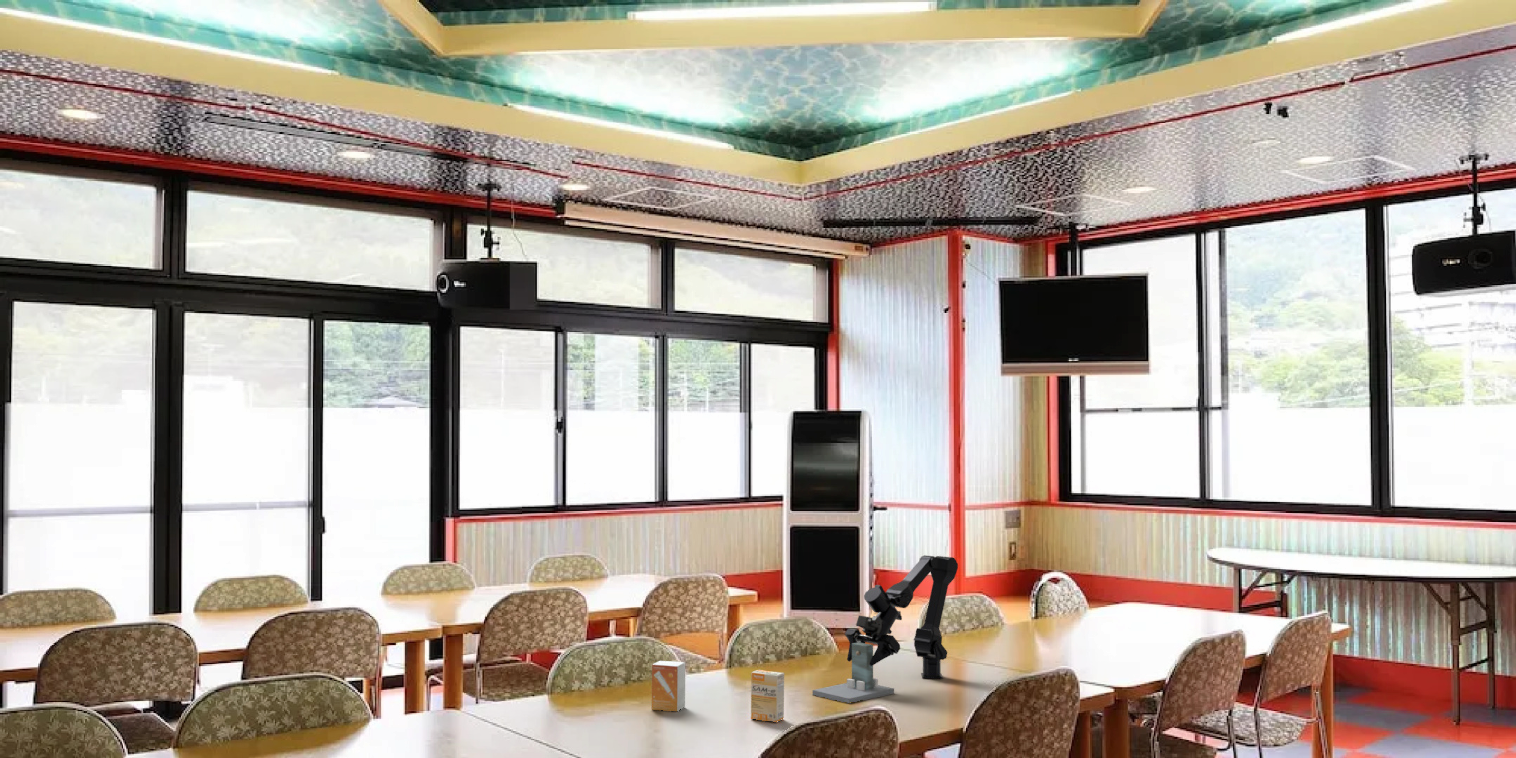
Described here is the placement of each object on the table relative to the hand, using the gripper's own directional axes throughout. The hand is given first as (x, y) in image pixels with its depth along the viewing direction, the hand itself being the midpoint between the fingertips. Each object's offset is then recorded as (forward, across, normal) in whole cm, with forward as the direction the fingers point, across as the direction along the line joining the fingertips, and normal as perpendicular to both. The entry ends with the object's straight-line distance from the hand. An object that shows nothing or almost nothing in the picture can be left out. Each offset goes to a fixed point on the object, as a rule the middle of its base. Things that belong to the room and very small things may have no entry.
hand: (859, 662), depth 354 cm
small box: (+46, -23, -33) cm, 61 cm away
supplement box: (+37, +6, -24) cm, 45 cm away
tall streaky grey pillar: (+4, 0, +6) cm, 8 cm away
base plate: (+8, 0, +5) cm, 9 cm away
